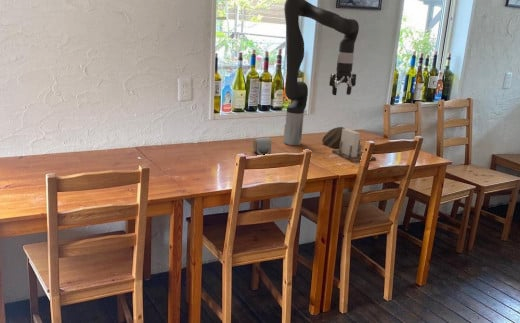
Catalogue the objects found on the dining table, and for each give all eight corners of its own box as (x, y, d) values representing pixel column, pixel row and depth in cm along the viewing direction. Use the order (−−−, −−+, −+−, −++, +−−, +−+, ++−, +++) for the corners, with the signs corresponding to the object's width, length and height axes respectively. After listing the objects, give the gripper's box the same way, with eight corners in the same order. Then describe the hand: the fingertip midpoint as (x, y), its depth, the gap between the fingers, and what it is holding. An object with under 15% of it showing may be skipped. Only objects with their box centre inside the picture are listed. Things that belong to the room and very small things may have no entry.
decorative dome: (317, 139, 274) (319, 122, 271) (351, 140, 277) (353, 123, 274) (327, 149, 256) (329, 131, 253) (362, 150, 259) (365, 132, 256)
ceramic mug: (251, 150, 244) (252, 135, 242) (267, 150, 246) (268, 135, 244) (256, 157, 234) (257, 141, 232) (272, 156, 236) (274, 141, 234)
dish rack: (331, 152, 250) (333, 139, 248) (353, 150, 256) (355, 137, 254) (353, 162, 235) (355, 148, 233) (376, 160, 241) (378, 146, 239)
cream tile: (339, 151, 248) (342, 128, 245) (344, 150, 250) (347, 128, 246) (351, 156, 240) (354, 133, 236) (356, 156, 241) (359, 133, 238)
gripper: (351, 60, 242) (348, 93, 247) (328, 60, 235) (325, 93, 240) (361, 62, 236) (357, 95, 241) (337, 62, 229) (334, 96, 234)
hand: (341, 94), depth 240 cm, fingers open, 8 cm apart
